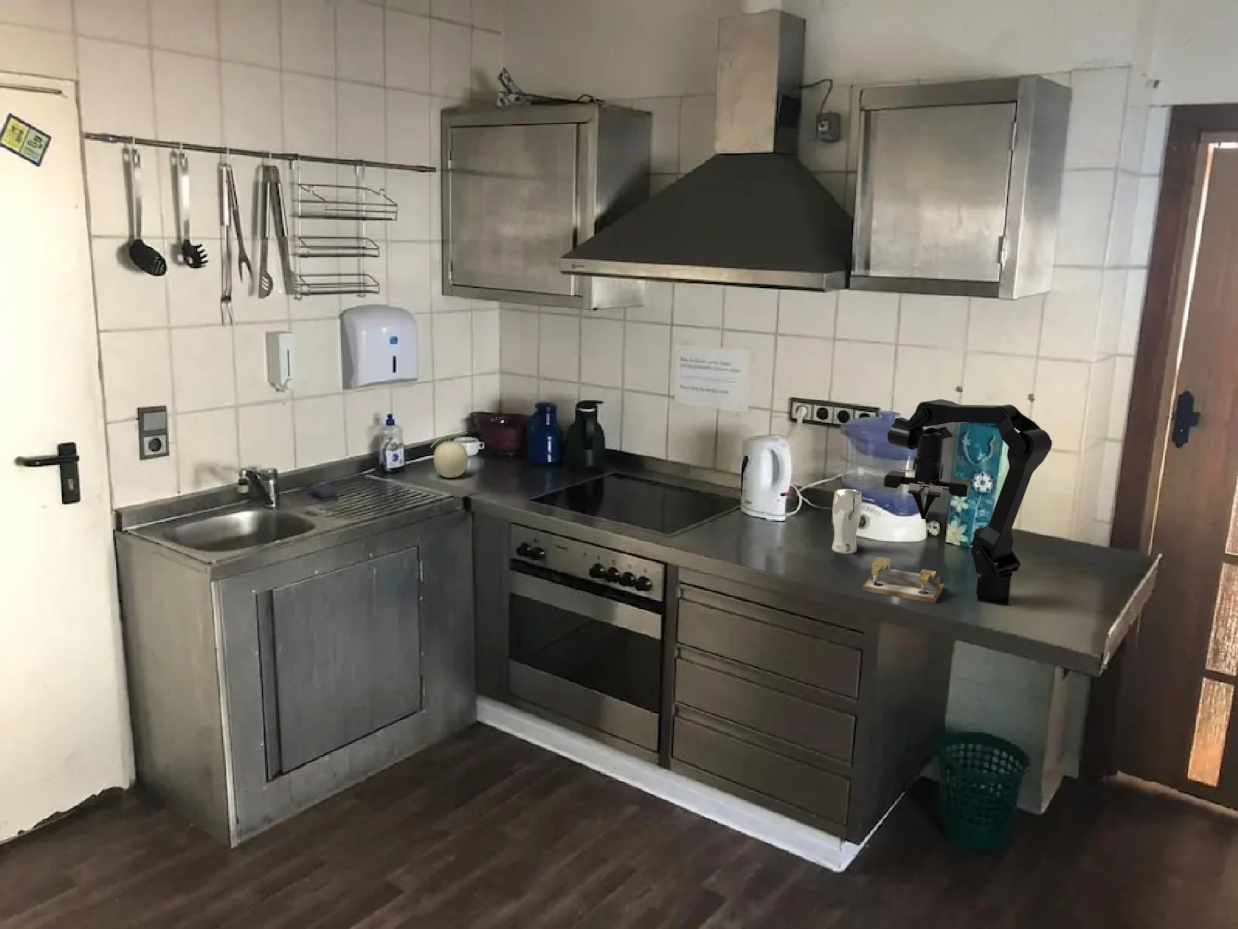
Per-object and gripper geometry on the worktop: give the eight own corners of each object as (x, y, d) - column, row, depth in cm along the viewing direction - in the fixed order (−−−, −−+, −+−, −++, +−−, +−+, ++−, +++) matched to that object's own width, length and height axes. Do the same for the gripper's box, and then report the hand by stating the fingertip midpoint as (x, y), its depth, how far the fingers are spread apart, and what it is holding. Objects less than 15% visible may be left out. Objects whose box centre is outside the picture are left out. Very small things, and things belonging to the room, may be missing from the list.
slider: (889, 574, 238) (890, 559, 237) (880, 586, 230) (881, 570, 229) (876, 571, 239) (877, 556, 238) (867, 583, 232) (868, 568, 231)
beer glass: (833, 543, 262) (836, 487, 258) (860, 547, 259) (864, 490, 256) (827, 552, 256) (831, 494, 252) (855, 556, 253) (859, 497, 249)
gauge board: (943, 588, 233) (945, 568, 232) (935, 603, 224) (937, 582, 223) (873, 576, 240) (874, 556, 239) (862, 590, 231) (863, 570, 230)
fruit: (427, 474, 323) (425, 428, 319) (463, 471, 327) (462, 425, 324) (435, 483, 314) (434, 435, 310) (472, 479, 318) (471, 432, 314)
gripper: (976, 451, 239) (970, 515, 243) (895, 442, 247) (890, 504, 251) (969, 462, 229) (963, 528, 233) (885, 452, 237) (880, 516, 241)
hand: (923, 518), depth 240 cm, fingers closed
